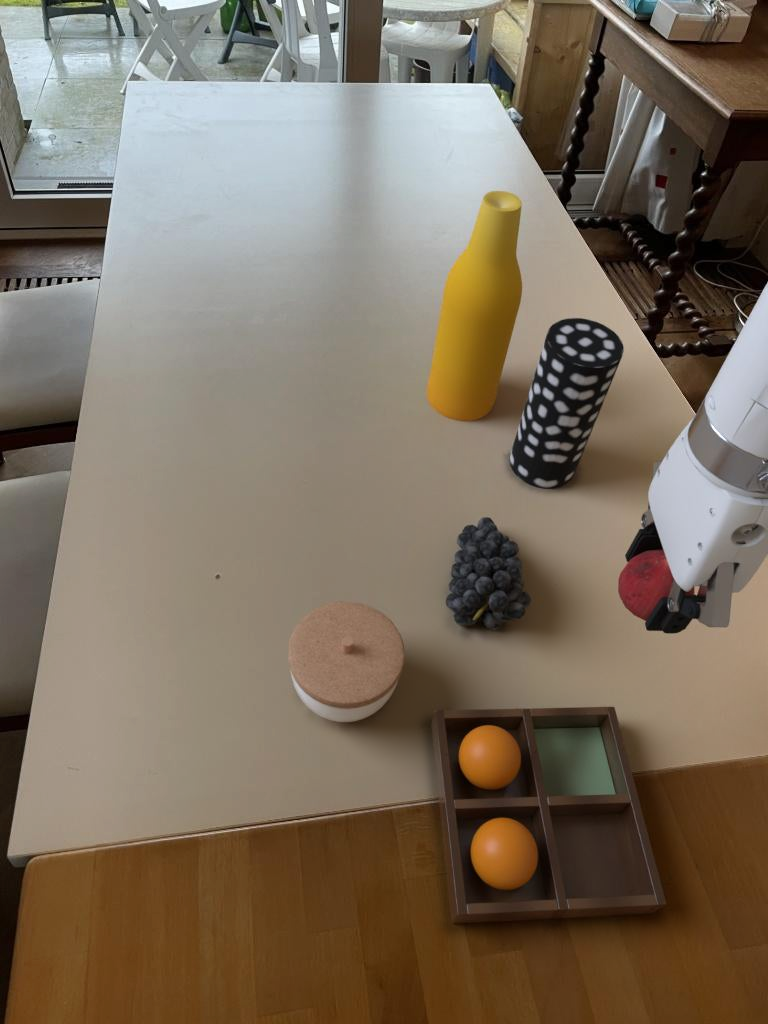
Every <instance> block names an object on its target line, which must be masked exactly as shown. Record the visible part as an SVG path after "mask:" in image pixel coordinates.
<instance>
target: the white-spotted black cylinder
mask: <svg viewBox="0 0 768 1024" xmlns="http://www.w3.org/2000/svg"><path fill="white" fill-rule="evenodd" d="M624 351H625V347H624V343H623V340H622V339H621V338H620V336H619V334H617V333H616V332H615V331H614V330H612V329H611V328H610V327H608V326H607V325H604V324H603V323H600V322H598V321H596V320H591V319H587V318H583V317H571V318H569V317H568V318H563V319H560V320H558V321H556V322H555V323H552V325H551V326H550V327H549V328H548V330H547V332H546V335H545V338H544V342H543V345H542V349H541V353H540V355H539V359H538V361H537V365H536V369H535V371H534V375H533V378H532V382H531V385H530V389H529V392H528V394H527V398H526V401H525V405H524V408H523V411H522V415H521V418H520V421H519V424H518V428H517V431H516V434H515V438H514V440H513V445H512V447H511V451H510V454H509V460H508V461H509V465H510V468H511V470H512V472H513V473H514V474H515V476H516V477H517V478H518V479H520V480H521V481H522V482H524V483H525V484H527V485H529V486H532V487H534V488H537V489H543V490H554V489H559V488H562V487H564V486H566V485H568V484H569V483H570V482H571V481H572V479H573V478H574V477H575V473H576V472H577V469H578V466H579V463H580V461H581V459H582V456H583V453H584V452H585V449H586V446H587V445H588V441H589V439H590V437H591V434H592V432H593V429H594V427H595V424H596V421H597V419H598V417H599V414H600V412H601V409H602V407H603V405H604V402H605V399H606V398H607V395H608V393H609V390H610V387H611V385H612V382H613V380H614V378H615V375H616V372H617V370H618V368H619V366H620V363H621V361H622V359H623V357H624V356H623V355H624Z"/></svg>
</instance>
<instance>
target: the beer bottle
mask: <svg viewBox="0 0 768 1024" xmlns="http://www.w3.org/2000/svg"><path fill="white" fill-rule="evenodd" d="M522 204H523V203H522V200H521V199H520V197H519V196H517V195H515V194H514V193H511V192H509V191H505V190H492V191H489V192H487V193H485V194H484V196H483V198H482V201H481V204H480V207H479V210H478V213H477V216H476V220H475V223H474V225H473V230H472V232H471V236H470V239H469V241H468V243H467V246H466V247H465V249H464V250H463V251H462V253H461V254H460V255H459V256H458V258H457V259H456V260H455V262H454V263H453V265H452V266H451V268H450V271H449V272H448V275H447V278H446V281H445V284H444V288H443V295H442V300H441V308H440V313H439V319H438V325H437V331H436V336H435V341H434V349H433V353H432V360H431V366H430V371H429V376H428V382H427V386H426V397H427V401H428V404H429V405H430V406H431V408H432V409H433V410H434V411H436V413H438V414H439V415H441V416H443V417H445V418H448V419H450V420H454V421H460V422H471V421H476V420H479V419H482V418H484V417H485V416H487V415H489V413H490V412H491V410H492V409H493V407H494V405H495V403H496V399H497V395H498V389H499V385H500V382H501V379H502V378H501V377H502V374H503V370H504V366H505V362H506V358H507V355H508V351H509V347H510V344H511V343H510V342H511V339H512V336H513V331H514V327H515V324H516V320H517V317H518V312H519V310H520V306H521V302H522V294H523V280H522V273H521V269H520V264H519V262H518V257H517V251H518V250H517V249H518V239H519V230H520V223H521V217H522V214H521V213H522Z"/></svg>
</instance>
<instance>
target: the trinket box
mask: <svg viewBox="0 0 768 1024" xmlns="http://www.w3.org/2000/svg"><path fill="white" fill-rule="evenodd" d="M287 650H288V652H287V654H288V655H287V656H288V665H289V670H290V676H291V680H292V683H293V687H294V689H295V691H296V693H297V695H298V697H299V698H300V700H301V701H302V703H303V704H304V705H305V706H306V707H307V708H308V709H309V710H310V711H312V712H313V713H314V714H315V715H317V716H320V717H321V718H323V719H325V720H328V721H331V722H336V723H352V722H353V723H354V722H358V721H361V720H363V719H365V718H369V717H370V716H372V715H374V714H375V713H377V712H378V711H379V710H380V709H381V708H383V707H384V706H385V704H386V703H387V702H388V701H389V699H390V698H391V697H392V695H393V693H394V691H395V689H396V687H397V686H398V685H397V684H398V682H399V679H400V677H401V674H402V672H403V668H404V663H405V658H406V657H405V655H406V653H405V645H404V640H403V638H402V636H401V633H400V631H399V629H398V627H397V626H396V625H395V623H394V622H393V621H392V620H391V618H389V617H388V616H387V615H386V614H384V613H383V612H381V610H379V609H377V608H374V607H372V606H370V605H368V604H364V603H361V602H356V601H344V600H343V601H335V602H331V603H326V604H324V605H321V606H319V607H317V608H314V609H313V610H312V611H309V613H307V614H306V615H305V616H304V617H302V619H301V620H300V621H299V622H298V623H297V625H296V626H295V627H294V629H293V631H292V633H291V636H290V638H289V643H288V649H287Z"/></svg>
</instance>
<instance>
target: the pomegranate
mask: <svg viewBox="0 0 768 1024" xmlns="http://www.w3.org/2000/svg"><path fill="white" fill-rule="evenodd" d="M673 579H674V577H673V575H672V573H671V570H670V567H669V564H668V561H667V559H666V556H665V553H664V550H649V551H645V552H643V553H641V554H639V555H637V556H635V557H633V558H632V559H631V560H630V561H629V562H627V563H626V564H625V566H624V567H623V569H622V570H621V571H620V574H619V576H618V580H617V581H618V585H617V592H618V596H619V599H620V600H621V602H622V604H623V606H624V608H625V609H627V610H628V611H629V612H630V613H631V614H632V615H633V616H635V617H637V618H639V619H641V620H643V621H644V622H646V620H647V618H648V617H649V615H650V614H651V612H652V611H653V609H654V608H655V606H656V605H657V603H658V602H659V600H660V599H661V598H662V597H668V596H669V593H670V589H671V586H672V583H673ZM685 594H695V586H694V587H693V588H692V589H691V590H690V591H688V592H685Z"/></svg>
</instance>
